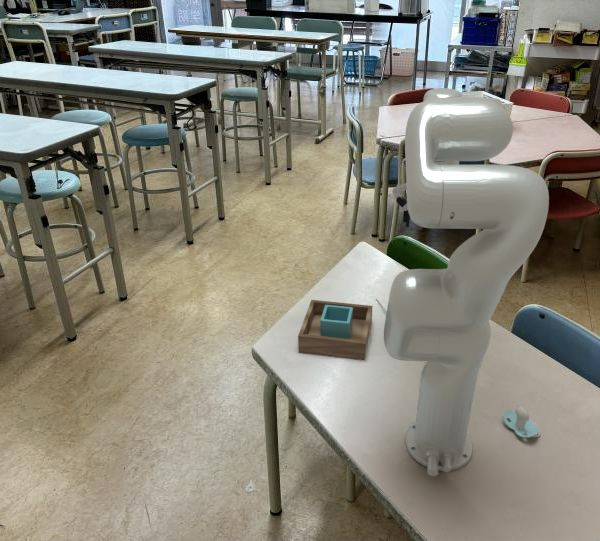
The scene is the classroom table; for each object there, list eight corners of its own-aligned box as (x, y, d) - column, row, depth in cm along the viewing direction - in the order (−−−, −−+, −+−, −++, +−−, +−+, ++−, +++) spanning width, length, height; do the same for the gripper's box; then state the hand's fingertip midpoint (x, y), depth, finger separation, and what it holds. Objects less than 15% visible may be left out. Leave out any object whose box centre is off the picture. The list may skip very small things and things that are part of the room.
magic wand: (370, 293, 157) (373, 288, 156) (405, 343, 136) (409, 337, 135) (365, 291, 156) (368, 286, 156) (400, 340, 135) (404, 335, 134)
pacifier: (519, 412, 114) (497, 422, 111) (525, 389, 111) (503, 398, 108) (547, 436, 108) (525, 447, 106) (554, 413, 105) (532, 423, 103)
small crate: (348, 343, 133) (349, 323, 130) (320, 340, 134) (320, 320, 132) (352, 326, 139) (353, 307, 136) (325, 324, 140) (325, 304, 137)
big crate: (364, 360, 129) (365, 343, 127) (298, 352, 132) (298, 335, 130) (371, 321, 143) (372, 305, 140) (311, 315, 146) (311, 299, 143)
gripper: (393, 155, 112) (389, 230, 120) (482, 159, 108) (470, 236, 117) (396, 144, 118) (391, 216, 127) (479, 147, 115) (469, 222, 123)
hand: (429, 226), depth 122 cm, fingers open, 9 cm apart
